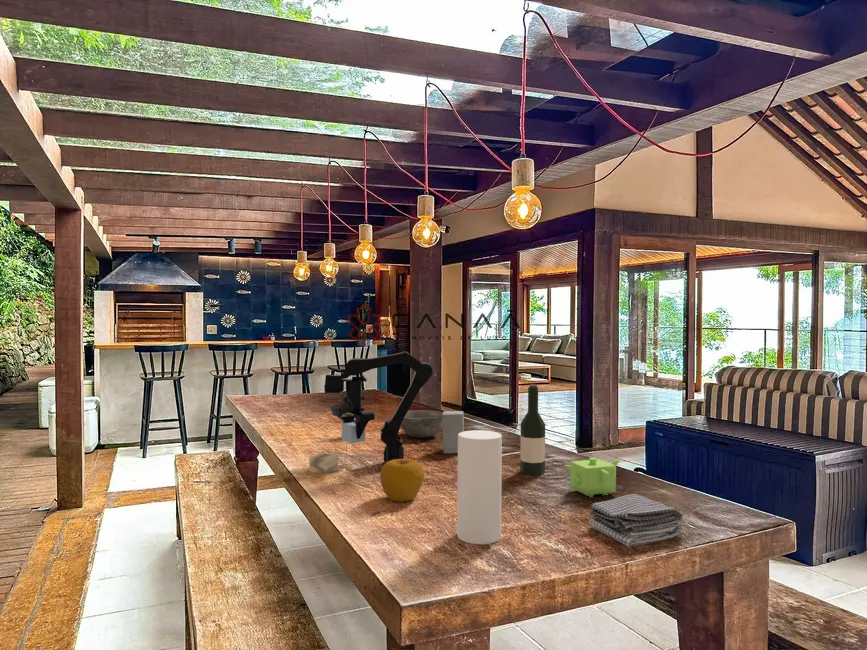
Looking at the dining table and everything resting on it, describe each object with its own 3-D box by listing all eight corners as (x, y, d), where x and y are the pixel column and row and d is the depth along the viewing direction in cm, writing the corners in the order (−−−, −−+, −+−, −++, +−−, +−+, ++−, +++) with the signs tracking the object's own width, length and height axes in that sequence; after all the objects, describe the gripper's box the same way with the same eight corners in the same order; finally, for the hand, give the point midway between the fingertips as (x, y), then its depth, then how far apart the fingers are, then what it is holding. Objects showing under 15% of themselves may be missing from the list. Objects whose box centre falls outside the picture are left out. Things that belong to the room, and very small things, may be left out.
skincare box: (464, 450, 236) (464, 410, 235) (463, 454, 229) (464, 413, 228) (443, 449, 237) (443, 410, 236) (441, 453, 229) (442, 413, 229)
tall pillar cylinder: (497, 527, 151) (498, 430, 150) (504, 544, 140) (504, 439, 140) (455, 528, 151) (456, 430, 150) (459, 544, 140) (459, 439, 139)
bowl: (391, 433, 267) (391, 411, 267) (432, 430, 276) (432, 408, 275) (408, 443, 248) (408, 419, 248) (452, 438, 257) (452, 415, 257)
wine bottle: (544, 476, 199) (545, 386, 198) (519, 474, 201) (520, 386, 200) (545, 469, 207) (545, 383, 206) (520, 468, 209) (521, 383, 208)
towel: (684, 537, 146) (685, 506, 146) (625, 548, 139) (625, 515, 139) (641, 517, 160) (641, 489, 160) (585, 527, 153) (585, 496, 153)
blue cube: (365, 441, 212) (365, 424, 212) (350, 443, 209) (350, 426, 208) (355, 438, 217) (356, 421, 217) (341, 440, 213) (341, 423, 213)
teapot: (563, 496, 177) (564, 461, 177) (570, 484, 190) (570, 451, 189) (617, 502, 172) (617, 466, 171) (620, 489, 184) (620, 455, 184)
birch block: (338, 469, 207) (338, 455, 207) (325, 474, 201) (325, 459, 201) (321, 467, 210) (321, 452, 210) (309, 471, 204) (309, 457, 204)
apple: (375, 494, 178) (375, 456, 178) (415, 490, 183) (416, 453, 182) (387, 507, 166) (387, 467, 166) (430, 502, 171) (430, 463, 170)
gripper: (320, 392, 214) (320, 435, 215) (348, 398, 200) (348, 444, 200) (347, 390, 222) (346, 431, 222) (375, 396, 207) (375, 440, 208)
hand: (353, 437), depth 213 cm, fingers closed on blue cube, 6 cm apart
